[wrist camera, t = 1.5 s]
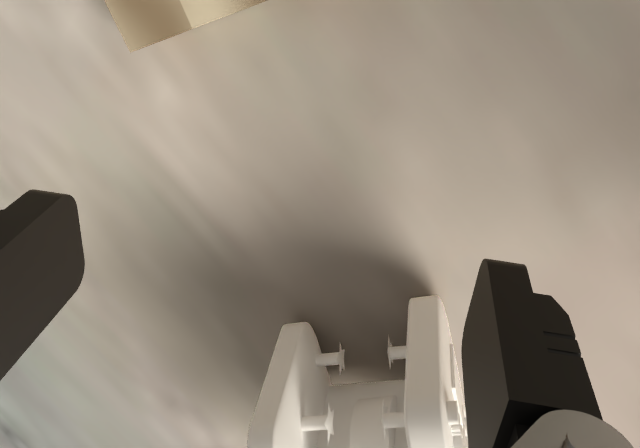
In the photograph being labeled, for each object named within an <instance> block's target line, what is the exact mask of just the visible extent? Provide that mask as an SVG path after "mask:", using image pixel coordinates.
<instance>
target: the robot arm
mask: <svg viewBox="0 0 640 448" xmlns="http://www.w3.org/2000/svg"><path fill="white" fill-rule="evenodd" d="M84 266H85V262H84V253H83V246H82V239H81V232H80V224H79V217H78V210H77V205H76V202H75V200H74V198H73V197H72V196H71V195H67V194H60V193H54V192H47V191H40V190H29V191H28V192H26V193H25V194H23V195H22V196H21V197H20V198H18V199H17V200H16V201H15V202H13V203H12V204H11V205H9V206H8V207H7V208H6V209H4V210H0V380H1V379H2V378H3V377H4V376H5V374H6V373H7V372H8V371H9V370H10V369H11V367H12V366H13V365H14V364H15V363H16V362H17V360H18V359H19V358H20V357H21V356H22V354H23V353H24V352H25V351H26V350H27V349H28V347H29V346H30V345H31V344H32V343H33V342H34V340H35V339H36V338H37V337H38V336H39V334H40V333H41V332H42V331H43V330H44V329H45V327H46V326H47V325H48V324H49V323H50V321H51V320H52V319H53V318H54V317H55V316H56V314H57V313H58V312H59V311H60V310H61V309H62V307H63V306H64V305H65V304H66V303H67V301H68V300H69V299H70V298H71V297H72V296H73V294H74V293H75V292H76V291H77V289H78V287H79V286H80V283H81V281H82V278H83V274H84ZM462 368H463V381H464V395H465V408H466V422H467V435H468V448H633V447H632V445H631V444H630V443H629V441H628V440H627V439H626V438H625V437H624V436H623V435H622V434H621V433H620V432H618V431H617V430H616V429H615V428H613V427H612V426H611V425H609V424H608V423H606V422H604V421H603V419H602V416H601V413H600V410H599V407H598V404H597V401H596V398H595V395H594V391H593V388H592V385H591V382H590V379H589V376H588V373H587V370H586V367H585V364H584V361H583V358H581V352H580V349H579V346H578V342H577V340H575V333H574V330H573V327H572V324H571V321H570V318H569V315H568V314H567V313H566V312H565V311H564V310H563V309H562V307H561V306H560V305H559V304H558V303H557V302H556V301H555V300H554V298H553V297H552V296H549V295H543V294H537V293H533V291H532V287H531V283H530V279H529V275H528V271H527V268H526V266H525V265H524V264H517V263H511V262H504V261H497V260H491V259H484V260H483V261H482V263H481V266H480V269H479V272H478V276H477V280H476V284H475V287H474V291H473V295H472V299H471V303H470V306H469V310H468V314H467V318H466V322H465V326H464V332H463V339H462Z"/></svg>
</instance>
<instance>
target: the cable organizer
mask: <svg viewBox="0 0 640 448" xmlns="http://www.w3.org/2000/svg"><path fill="white" fill-rule="evenodd" d="M344 353H345V349H344V350H342V348H341V344H340V352H334V353H324V354H322V353H321V350H320V347H319V343H318V340H317V337H316V335H315V332H314V330H313V328H312V327H311V325H310V324H309V323H307V322H299V323H290V324H284V325H283V326H282V328H281V331H280V334H279V337H278V340H277V343H276V346H275V349H274V352H273V355H272V358H271V361H270V364H269V367H268V371H267V374H266V377H265V380H264V383H263V386H262V389H261V392H260V395H259V398H258V401H257V404H256V408H255V411H254V414H253V417H252V420H251V423H250V427H249V431H248V440H247V448H468V435H467V422H466V409H465V404H464V399H463V394H462V389H461V383H460V377H459V372H458V367H457V362H456V357H455V352H454V347H453V344H452V339H451V334H450V329H449V324H448V319H447V315H446V311H445V308H444V305H443V303H442V300H441V298H440V297H439V296H438V295H432V296H424V297H415V298H411V299H410V300H409V304H408V322H407V344H406V346H396V347H392V343H391V344H390V339H389V334H388V350H387V353H388V359H389V366H390V368H391V362H392V363H393V360H395V359H405V358H406V367H405V379H403V380H391V381H379V382H367V383H355V384H343V385H332V383H331V380H330V377H329V374H328V371H327V368H326V366H329V365H339V366H340V374H341V370H342V369H344V370H345V366H344Z"/></svg>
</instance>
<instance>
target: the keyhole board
mask: <svg viewBox="0 0 640 448" xmlns="http://www.w3.org/2000/svg"><path fill="white" fill-rule="evenodd" d="M104 1H105V3H106V5H107V7H108V9H109V11H110V13H111V15H112V17H113V19H114V21H115V23H116V25H117V27H118V29H119V31H120V33H121V35H122V37H123V39H124V41H125V43H126V45H127V47H128V49H129V51H130V53H131V52H133V51H136V50H138V49H141V48H144V47H146V46H149V45H152V44H154V43H157V42H160V41H162V40H165V39H167V38H170V37H173V36H175V35H178V34H181V33H183V32H186V31H188V30H191V29H194V28H196V27H199V26H202V25H204V24H207V23H209V22H212V21H215V20H217V19H220V18H223V17H225V16H228V15H230V14H233V13H236V12H238V11H241V10H244V9H246V8H249V7H251V6H254V5H257V4H259V3H262V2H265V1H267V0H104Z"/></svg>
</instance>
